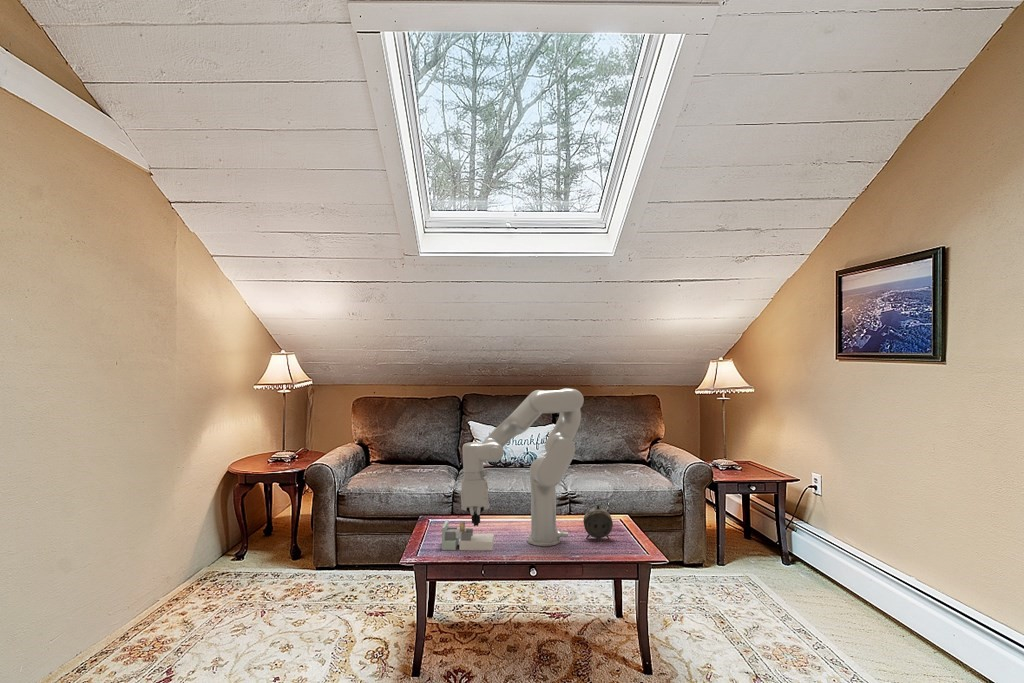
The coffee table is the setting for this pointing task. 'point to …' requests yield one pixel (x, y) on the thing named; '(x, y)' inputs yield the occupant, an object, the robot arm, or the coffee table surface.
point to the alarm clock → (598, 522)
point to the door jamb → (448, 537)
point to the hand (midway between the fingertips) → (476, 524)
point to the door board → (476, 541)
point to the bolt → (459, 530)
